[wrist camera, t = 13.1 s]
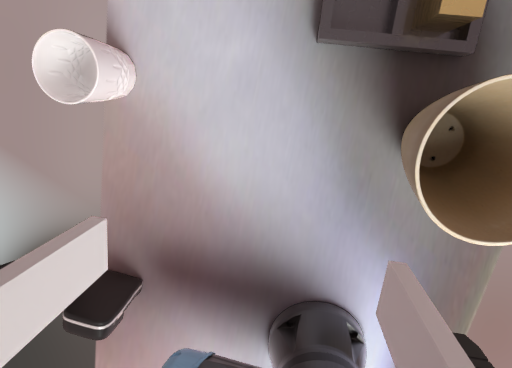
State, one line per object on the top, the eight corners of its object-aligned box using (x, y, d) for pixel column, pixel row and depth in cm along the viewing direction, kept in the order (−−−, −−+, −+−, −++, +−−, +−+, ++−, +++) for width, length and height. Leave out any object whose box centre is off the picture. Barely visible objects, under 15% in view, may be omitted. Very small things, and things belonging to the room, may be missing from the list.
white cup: (101, 110, 47) (51, 113, 37) (77, 55, 45) (18, 44, 36) (149, 91, 45) (110, 90, 36) (126, 34, 44) (78, 16, 34)
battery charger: (103, 287, 55) (55, 334, 44) (105, 267, 54) (56, 311, 43) (142, 298, 55) (103, 349, 44) (145, 278, 54) (106, 326, 43)
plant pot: (361, 183, 45) (394, 228, 30) (391, 72, 41) (447, 58, 26) (471, 204, 44) (563, 262, 29) (513, 92, 40) (647, 90, 25)
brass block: (445, 32, 39) (482, 17, 31) (411, 29, 39) (439, 13, 31) (454, -5, 38) (495, -31, 30) (419, -8, 38) (450, -34, 30)
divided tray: (461, 56, 40) (474, 53, 37) (316, 42, 41) (318, 38, 38) (481, -22, 37) (497, -32, 35) (327, -34, 39) (330, -44, 36)
